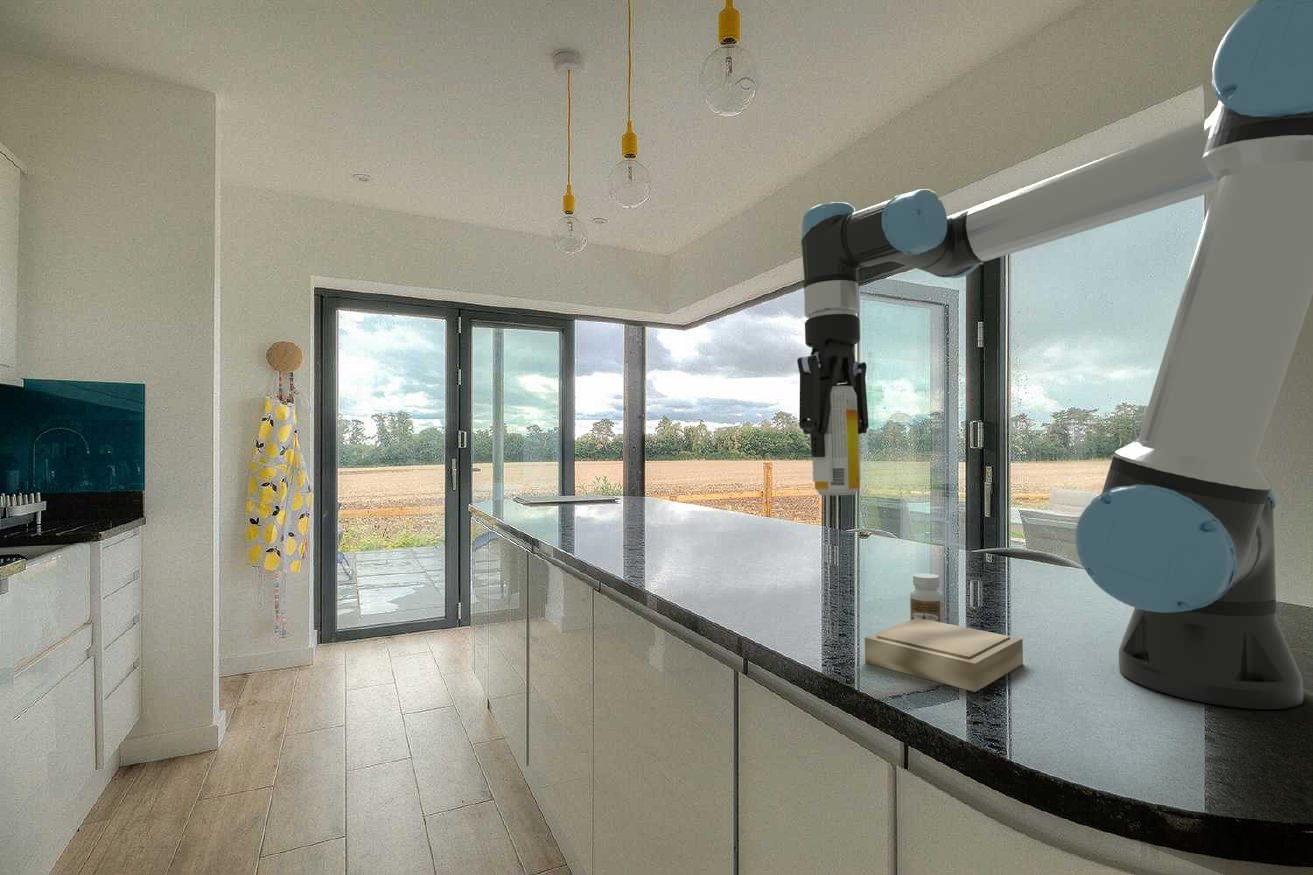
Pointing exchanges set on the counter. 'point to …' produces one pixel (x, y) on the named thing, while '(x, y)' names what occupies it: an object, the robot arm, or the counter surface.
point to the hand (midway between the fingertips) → (837, 480)
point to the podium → (945, 653)
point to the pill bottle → (926, 598)
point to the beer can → (843, 443)
